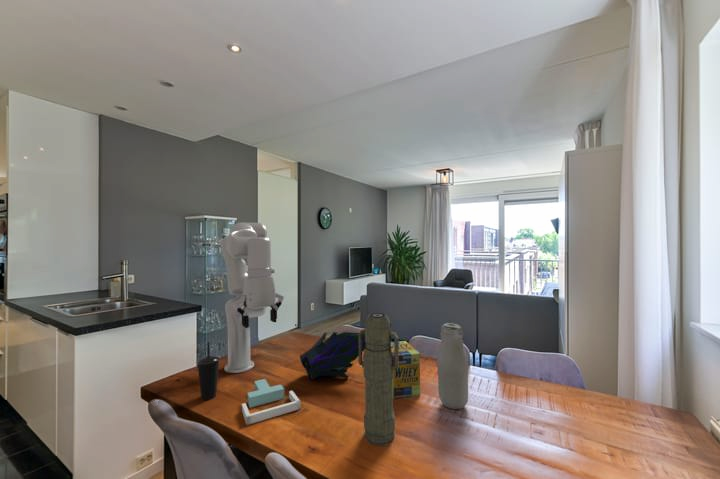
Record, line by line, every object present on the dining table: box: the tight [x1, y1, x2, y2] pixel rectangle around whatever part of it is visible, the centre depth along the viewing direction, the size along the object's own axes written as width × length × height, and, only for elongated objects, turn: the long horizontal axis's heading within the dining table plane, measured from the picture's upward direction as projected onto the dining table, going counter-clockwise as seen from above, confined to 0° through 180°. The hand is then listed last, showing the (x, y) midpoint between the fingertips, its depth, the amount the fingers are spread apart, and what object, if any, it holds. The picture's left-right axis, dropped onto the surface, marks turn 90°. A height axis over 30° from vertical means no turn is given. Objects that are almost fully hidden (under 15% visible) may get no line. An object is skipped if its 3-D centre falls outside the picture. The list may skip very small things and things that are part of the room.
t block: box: [247, 378, 285, 409], centre depth 113 cm, size 12×12×4 cm
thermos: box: [358, 312, 400, 447], centre depth 88 cm, size 9×12×35 cm
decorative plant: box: [299, 331, 366, 380], centre depth 129 cm, size 21×26×30 cm
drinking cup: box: [196, 341, 221, 401], centre depth 112 cm, size 8×8×20 cm
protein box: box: [391, 340, 421, 400], centre depth 117 cm, size 10×15×16 cm
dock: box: [241, 390, 302, 426], centre depth 103 cm, size 9×17×2 cm, turn 120°
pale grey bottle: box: [436, 322, 469, 410], centre depth 103 cm, size 10×10×28 cm
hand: (260, 324), depth 103 cm, fingers open, 9 cm apart
